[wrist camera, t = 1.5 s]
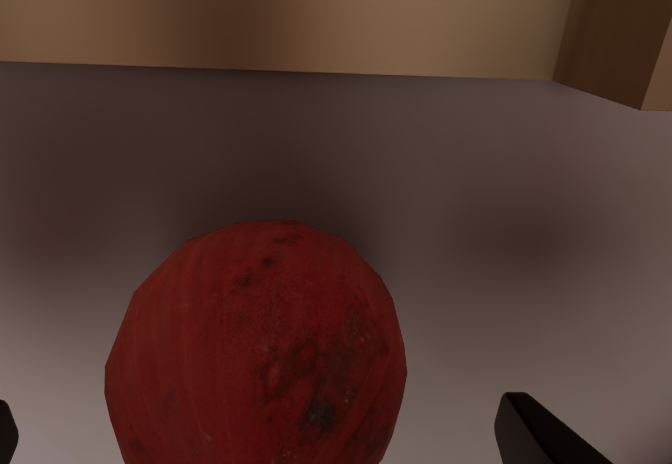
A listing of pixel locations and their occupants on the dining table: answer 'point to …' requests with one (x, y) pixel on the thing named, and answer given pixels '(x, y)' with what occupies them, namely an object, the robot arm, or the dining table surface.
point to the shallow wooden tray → (365, 39)
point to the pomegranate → (258, 353)
